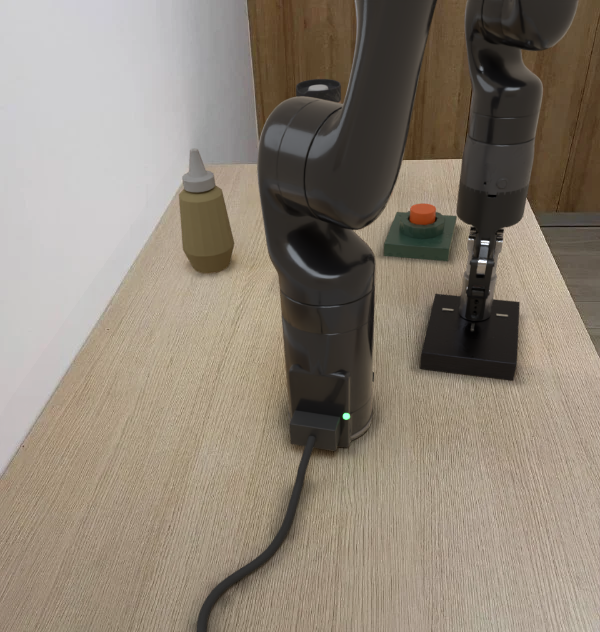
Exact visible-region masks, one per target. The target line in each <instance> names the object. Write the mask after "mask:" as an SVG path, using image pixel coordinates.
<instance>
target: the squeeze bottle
mask: <svg viewBox="0 0 600 632" xmlns="http://www.w3.org/2000/svg"><path fill="white" fill-rule="evenodd" d="M199 150H200V149H198V148H190V150H189V159H188V160H189V163H188V172H186V173H184V174H183V175H182V176H181V180H182V186H183V188H182V190H181V192H179V193H178V202H179V204H178V205H179V216H180V230H181V243H182V251H183V253H184V255H185V256H186V258H187V260H188V261H189V263H190V265H191V266H192V269H194V270H195V271H196V272H197V273H201V274H214V273H219V272H222V271H224V270H226V269H227V268H228V267H229V266H230V264H231V261H232V256H233V251H234V247H235V241H234V236H233V231H232V226H231V223H230V218H229V214H228V209H227V205H226V202H225V201H226V200H225V196H224V193H223V189H222V188H220V187H219V186H218V185H216V180H215V179H216V178H215V174H214V172H212V171H211V170H207V169H206V167H205V164H204V162H203V158H202V156H201V153H200V151H199Z"/></svg>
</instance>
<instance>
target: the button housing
mask: <svg viewBox="0 0 600 632" xmlns="http://www.w3.org/2000/svg"><path fill="white" fill-rule="evenodd" d="M457 219H458V216H457V215H449V214H442V213H441V212H438V211H436V216H435V222H434V223H432V224H428V225H418V224H414V223H411V222H410V210H408V211H405V212H404V211H396V213H395V215H394V217H393V220H392V223H391V225H390V228H389V230H388V234H387V235H386V238H385V241H384V242H383V257H392V258H403V259H415V260H425V261H436V262H437V261H439V262H449V259H450V255H451V249H452V246H453V242H454V238H455V237H454V236H455V231H456V227H457Z"/></svg>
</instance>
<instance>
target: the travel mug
mask: <svg viewBox="0 0 600 632" xmlns="http://www.w3.org/2000/svg"><path fill="white" fill-rule="evenodd" d="M298 96H305V97H313V98H318V99H323V100H328V101H333V102H337V103H342V85H341V82H340V81H338V80H335V79H330V78H314V79H313V78H312V79H307V80H304V81H303V80H302V81H300V82H299V83H297V84H296V85H295V97H298Z"/></svg>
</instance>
